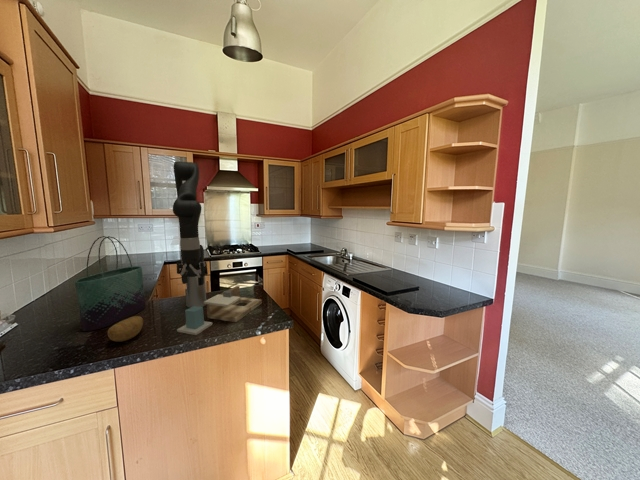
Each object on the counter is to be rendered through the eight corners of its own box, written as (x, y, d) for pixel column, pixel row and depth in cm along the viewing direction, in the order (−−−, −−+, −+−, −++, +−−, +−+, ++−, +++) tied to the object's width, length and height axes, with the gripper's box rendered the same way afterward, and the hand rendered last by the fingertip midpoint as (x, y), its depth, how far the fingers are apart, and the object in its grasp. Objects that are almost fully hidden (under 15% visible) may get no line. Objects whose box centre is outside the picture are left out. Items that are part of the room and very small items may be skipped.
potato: (152, 330, 111) (150, 313, 110) (124, 348, 97) (122, 328, 96) (131, 329, 112) (129, 312, 111) (101, 346, 98) (98, 327, 97)
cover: (203, 303, 118) (203, 296, 118) (218, 296, 128) (217, 289, 127) (227, 306, 114) (227, 299, 114) (240, 299, 124) (240, 292, 123)
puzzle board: (207, 317, 123) (206, 301, 122) (237, 300, 146) (236, 285, 145) (235, 322, 118) (235, 305, 117) (261, 303, 141) (261, 288, 140)
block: (195, 322, 116) (193, 306, 115) (204, 324, 114) (202, 307, 113) (186, 327, 111) (185, 310, 110) (195, 329, 110) (194, 311, 108)
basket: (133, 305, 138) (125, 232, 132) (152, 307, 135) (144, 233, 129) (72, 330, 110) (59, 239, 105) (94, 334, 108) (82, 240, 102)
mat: (177, 331, 110) (177, 329, 110) (194, 321, 119) (194, 319, 119) (196, 335, 107) (195, 332, 107) (212, 324, 116) (212, 322, 116)
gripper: (210, 247, 110) (212, 283, 112) (183, 245, 114) (186, 280, 116) (197, 250, 103) (200, 288, 105) (169, 248, 107) (172, 285, 109)
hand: (193, 284), depth 111 cm, fingers open, 8 cm apart
